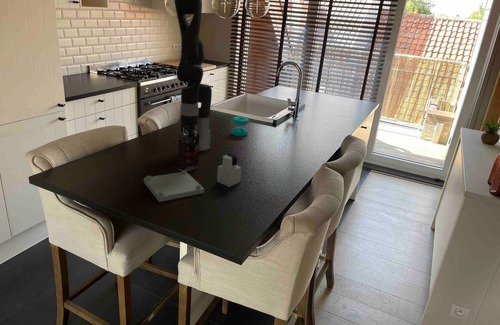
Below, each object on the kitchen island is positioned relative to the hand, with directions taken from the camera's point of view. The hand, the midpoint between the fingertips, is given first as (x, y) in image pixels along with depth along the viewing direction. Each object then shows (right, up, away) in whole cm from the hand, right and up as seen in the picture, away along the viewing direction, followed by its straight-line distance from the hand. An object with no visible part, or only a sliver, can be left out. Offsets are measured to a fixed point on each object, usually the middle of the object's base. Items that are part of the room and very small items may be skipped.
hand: (188, 150), depth 160 cm
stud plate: (-4, -16, -15) cm, 22 cm away
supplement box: (-1, -9, +3) cm, 9 cm away
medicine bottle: (+18, -14, -6) cm, 23 cm away
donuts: (+21, +11, +57) cm, 61 cm away
